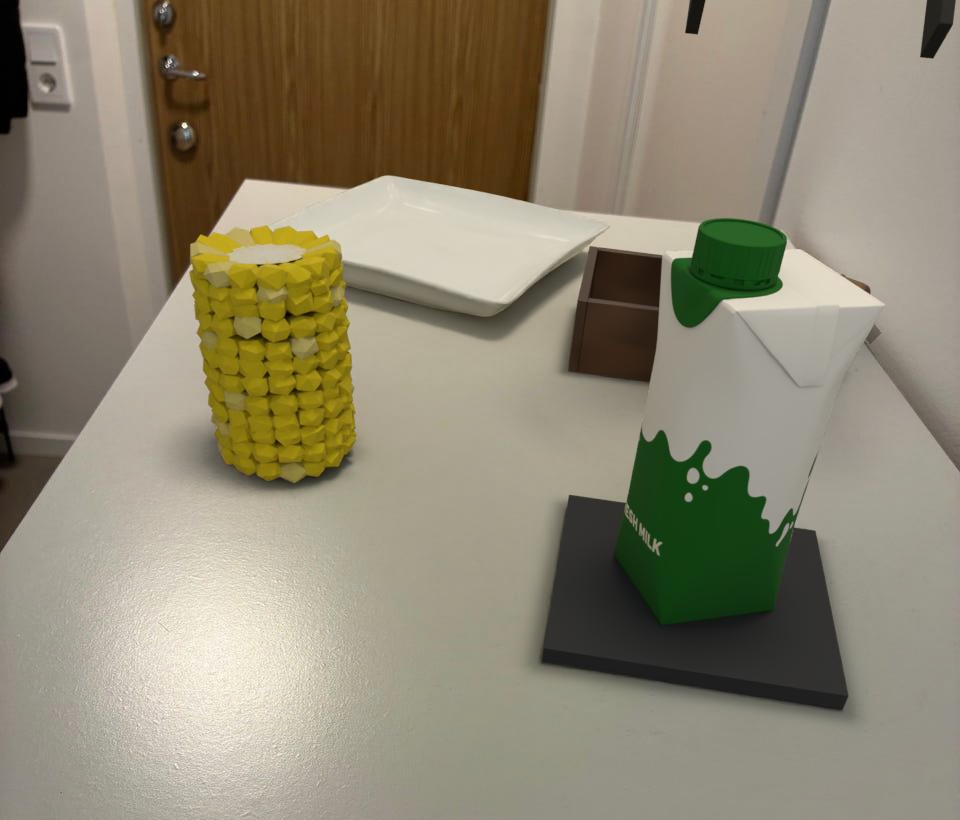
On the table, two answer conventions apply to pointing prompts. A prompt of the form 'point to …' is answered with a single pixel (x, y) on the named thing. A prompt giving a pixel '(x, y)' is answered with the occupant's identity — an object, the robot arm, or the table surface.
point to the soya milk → (734, 417)
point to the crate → (617, 314)
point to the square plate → (444, 242)
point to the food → (275, 349)
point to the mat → (691, 622)
